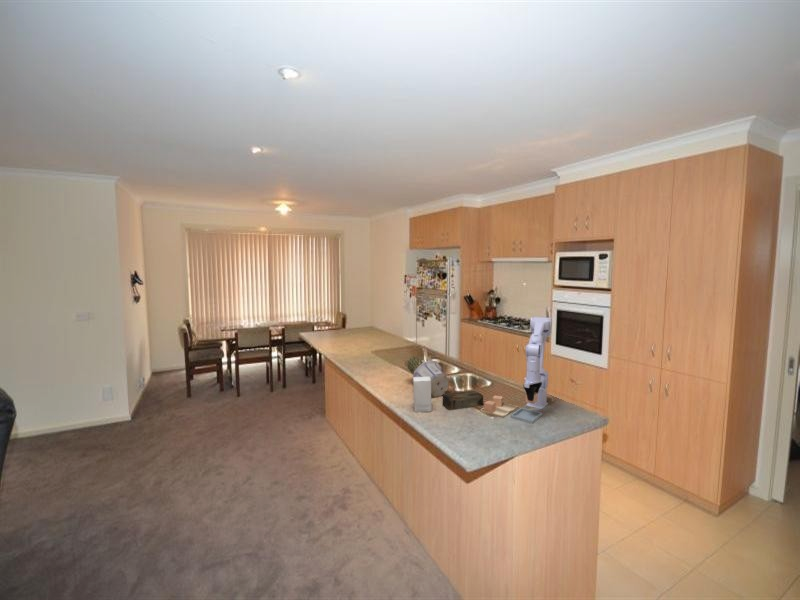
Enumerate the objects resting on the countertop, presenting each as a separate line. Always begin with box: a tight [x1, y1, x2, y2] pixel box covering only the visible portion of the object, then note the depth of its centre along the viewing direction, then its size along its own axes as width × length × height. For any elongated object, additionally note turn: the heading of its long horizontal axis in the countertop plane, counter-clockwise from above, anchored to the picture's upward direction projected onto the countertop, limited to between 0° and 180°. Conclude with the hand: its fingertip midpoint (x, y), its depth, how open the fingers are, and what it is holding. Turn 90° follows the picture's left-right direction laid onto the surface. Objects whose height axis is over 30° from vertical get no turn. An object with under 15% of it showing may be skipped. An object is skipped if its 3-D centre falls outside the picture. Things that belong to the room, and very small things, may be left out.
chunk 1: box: [483, 400, 496, 413], centre depth 183 cm, size 4×4×4 cm
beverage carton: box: [441, 390, 484, 411], centre depth 191 cm, size 8×19×7 cm, turn 109°
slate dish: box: [509, 407, 543, 425], centre depth 177 cm, size 12×10×2 cm
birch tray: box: [479, 402, 519, 419], centre depth 185 cm, size 16×12×1 cm
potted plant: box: [406, 356, 450, 398], centre depth 214 cm, size 18×18×30 cm
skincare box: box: [412, 376, 432, 413], centre depth 186 cm, size 8×7×16 cm
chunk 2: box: [492, 394, 504, 407], centre depth 190 cm, size 4×4×4 cm
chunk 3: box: [525, 392, 538, 404], centre depth 177 cm, size 4×4×4 cm
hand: (532, 399), depth 177 cm, fingers closed on chunk 3, 4 cm apart
